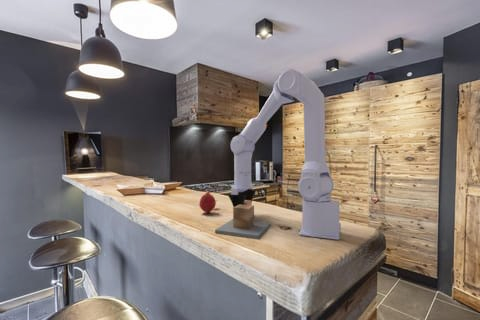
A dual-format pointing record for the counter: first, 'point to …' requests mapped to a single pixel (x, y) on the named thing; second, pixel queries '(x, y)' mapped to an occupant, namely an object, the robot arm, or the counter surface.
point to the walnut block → (243, 216)
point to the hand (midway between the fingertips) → (242, 213)
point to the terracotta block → (247, 202)
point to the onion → (207, 202)
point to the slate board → (251, 233)
